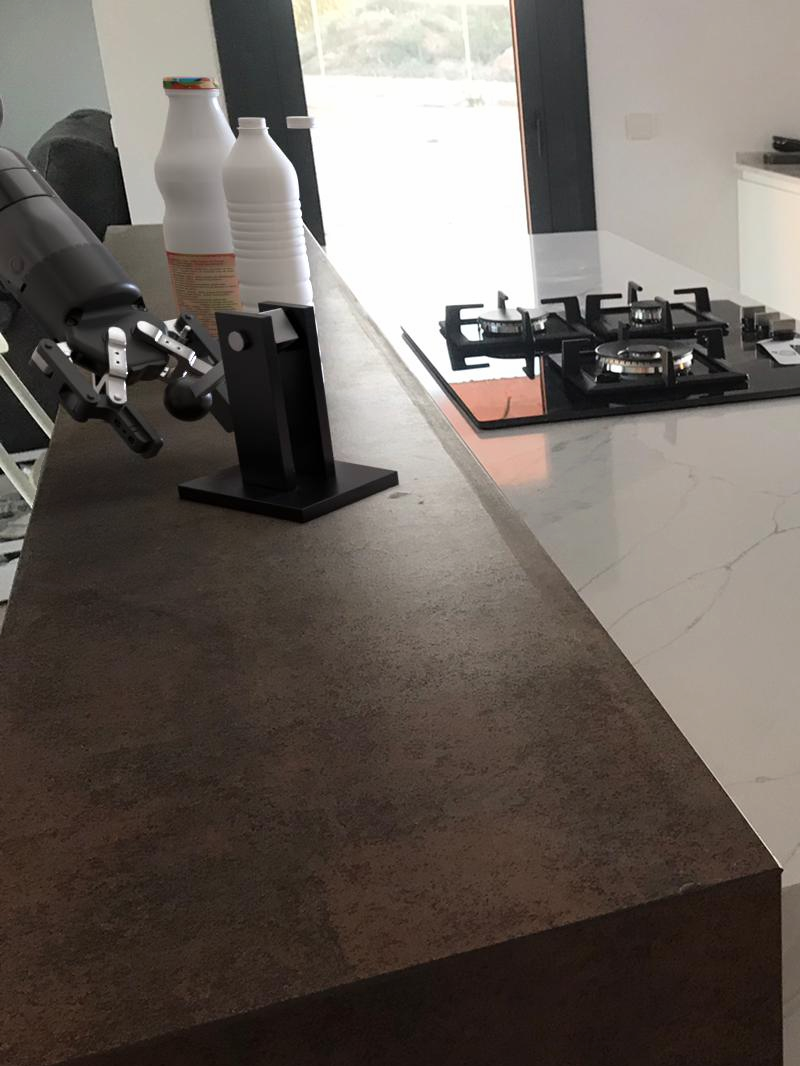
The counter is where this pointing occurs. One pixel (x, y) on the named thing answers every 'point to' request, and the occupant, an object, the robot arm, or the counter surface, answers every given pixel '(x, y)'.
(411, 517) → the counter surface
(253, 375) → the tap bracket
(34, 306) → the robot arm
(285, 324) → the lever with ball knob
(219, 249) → the fruit juice
